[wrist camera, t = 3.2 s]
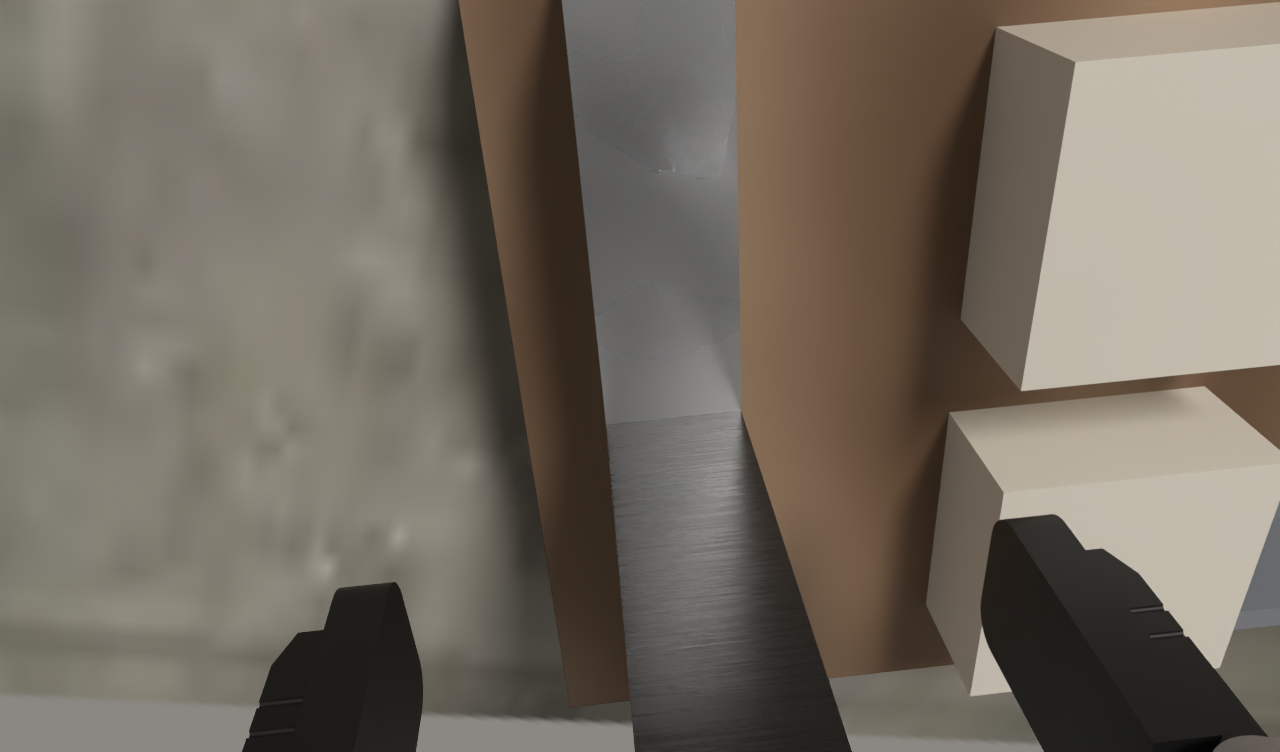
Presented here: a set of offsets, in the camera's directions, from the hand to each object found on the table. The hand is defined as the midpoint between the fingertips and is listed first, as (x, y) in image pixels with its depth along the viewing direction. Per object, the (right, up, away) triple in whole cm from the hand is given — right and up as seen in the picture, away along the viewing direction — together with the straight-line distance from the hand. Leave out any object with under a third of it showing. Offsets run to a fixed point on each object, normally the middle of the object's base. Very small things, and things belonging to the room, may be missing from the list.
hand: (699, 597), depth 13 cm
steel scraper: (0, +3, +4) cm, 5 cm away
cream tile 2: (+8, 0, +6) cm, 10 cm away
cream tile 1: (+7, +6, +3) cm, 10 cm away
